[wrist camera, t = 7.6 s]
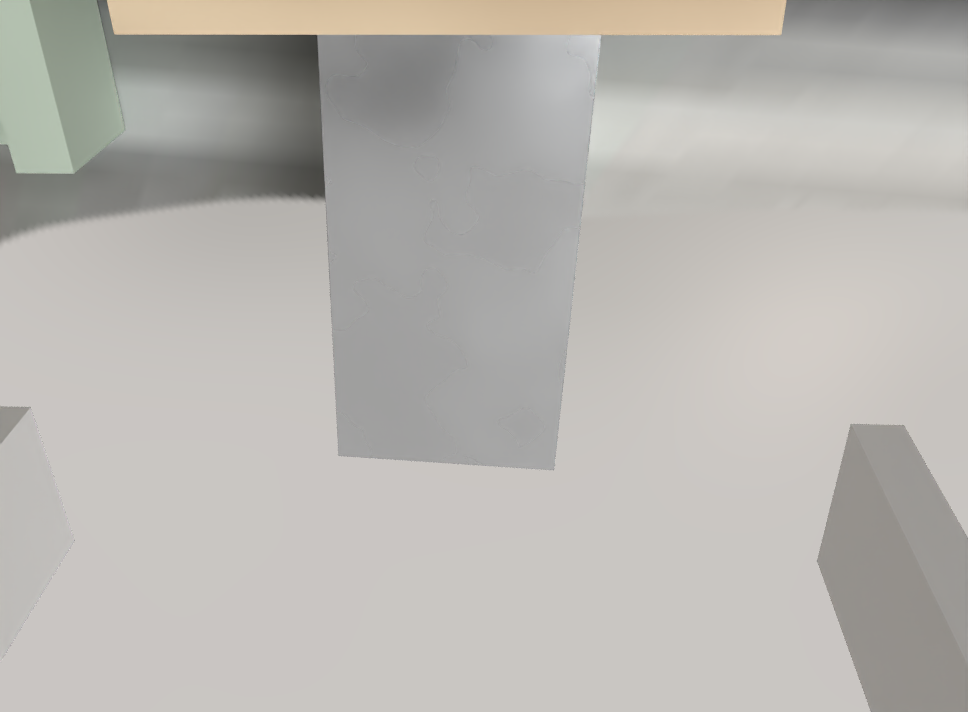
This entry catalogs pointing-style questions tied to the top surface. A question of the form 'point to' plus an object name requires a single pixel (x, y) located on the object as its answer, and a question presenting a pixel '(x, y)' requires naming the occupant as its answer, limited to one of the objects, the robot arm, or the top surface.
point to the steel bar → (453, 239)
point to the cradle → (55, 85)
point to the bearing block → (447, 17)
